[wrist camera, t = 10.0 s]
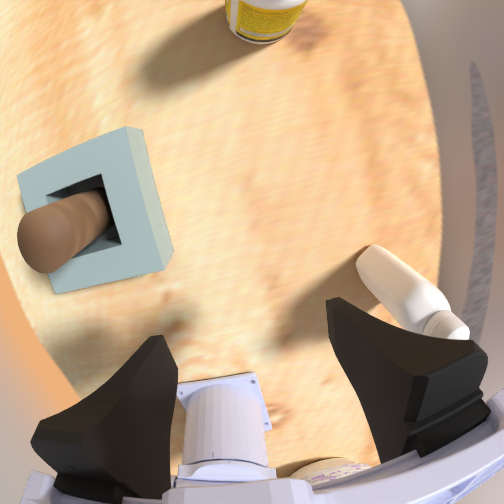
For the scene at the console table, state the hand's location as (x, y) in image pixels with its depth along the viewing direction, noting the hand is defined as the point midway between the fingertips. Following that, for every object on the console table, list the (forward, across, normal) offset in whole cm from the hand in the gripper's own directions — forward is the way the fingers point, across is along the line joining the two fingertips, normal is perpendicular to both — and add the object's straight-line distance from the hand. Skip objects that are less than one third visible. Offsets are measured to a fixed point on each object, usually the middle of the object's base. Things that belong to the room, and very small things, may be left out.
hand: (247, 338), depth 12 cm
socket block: (+10, +9, -6) cm, 15 cm away
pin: (+9, +9, -6) cm, 14 cm away
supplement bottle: (+10, -5, -17) cm, 20 cm away
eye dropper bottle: (+10, -11, +4) cm, 15 cm away
